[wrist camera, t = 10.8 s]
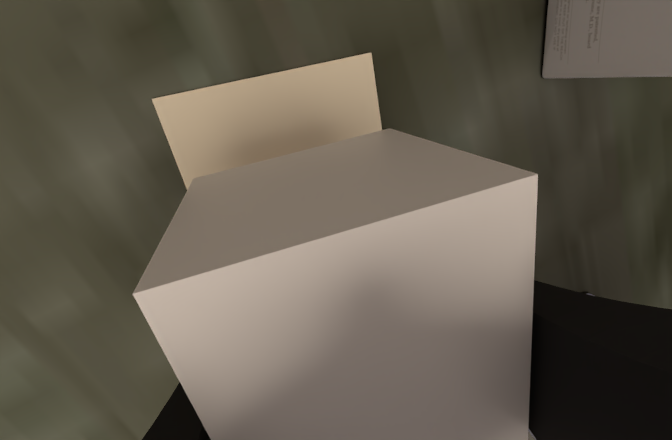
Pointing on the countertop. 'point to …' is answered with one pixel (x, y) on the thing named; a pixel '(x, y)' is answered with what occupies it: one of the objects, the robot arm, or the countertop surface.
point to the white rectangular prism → (352, 294)
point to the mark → (269, 115)
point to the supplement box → (608, 39)
